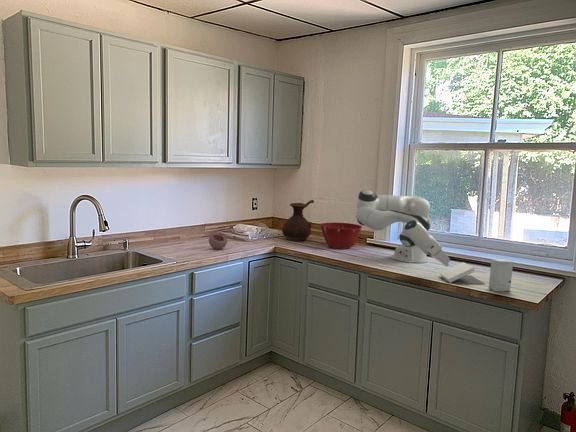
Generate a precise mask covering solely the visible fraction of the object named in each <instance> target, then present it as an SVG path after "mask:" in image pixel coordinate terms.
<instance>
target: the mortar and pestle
mask: <svg viewBox="0 0 576 432" xmlns="http://www.w3.org/2000/svg"><path fill="white" fill-rule="evenodd" d="M208 244H209V246H210V247H211V248H212V249H214V250H221V249H224V248H225V247H226V245H228V238H227V237H226V236H225V235H224V234H223V233H222V232H220V231H219V232H212V233H210V234H209V236H208Z"/></svg>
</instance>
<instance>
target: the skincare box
mask: <svg viewBox="0 0 576 432" xmlns="http://www.w3.org/2000/svg"><path fill="white" fill-rule="evenodd" d="M513 267H514V261H513V260H510V259H503V258H502V259H501V258H491V260H490V272H489V273H490V274H489V283H488V289H490V290H492V291H494V292H510V291H511V288H512V287H511V286H512V276H513Z"/></svg>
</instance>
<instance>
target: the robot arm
mask: <svg viewBox="0 0 576 432" xmlns="http://www.w3.org/2000/svg"><path fill="white" fill-rule="evenodd" d="M430 209H431V204H430V202H429V201H428V200H427V199H426V198H424V197H422V196H415V195H414V196H413V195H395V194H394V195H393V194H377V193H376V192H374V191H373V190H372V189H371V190H370V189H363V190H361V191H360V192H359V194H358V198H357V203H356V212H355V218H356V221H357V223H358V225H360V226H365V227H367V228H369V229H371V230H374V231H383V230H385V229H386V228H388V227H390V226H391V225H393V224H395V223H403V224H404V223H405V225H404V228H403V230H402V231H401V232H400V234H399V235H398V237H399V241H400V242H401V244H400V245H398V246H397V247H396V248H395V249H394V253H393V254H391V255H390V259H393V260H397V261H402V262H404V263H414V264H416V263H418V264H420V263H422V264H423V263H427V262H428V257H427V255H428V256H430V257H432V258H433V259H435V260H436V261H438V262H439V263H441V264H442V265H443V266H444V267H449V265H450V264H449V263H451V259H450V257H449V256H448V254H447V253H446V252H445V251H444V250H443V247H442V245H440V244H439V242H438V241H437V240H436V239H435V237H434V236H433V235H431V234H430V233H429V231H430V228H431V224H430V223H431V222H430V220H429V218H430Z"/></svg>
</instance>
